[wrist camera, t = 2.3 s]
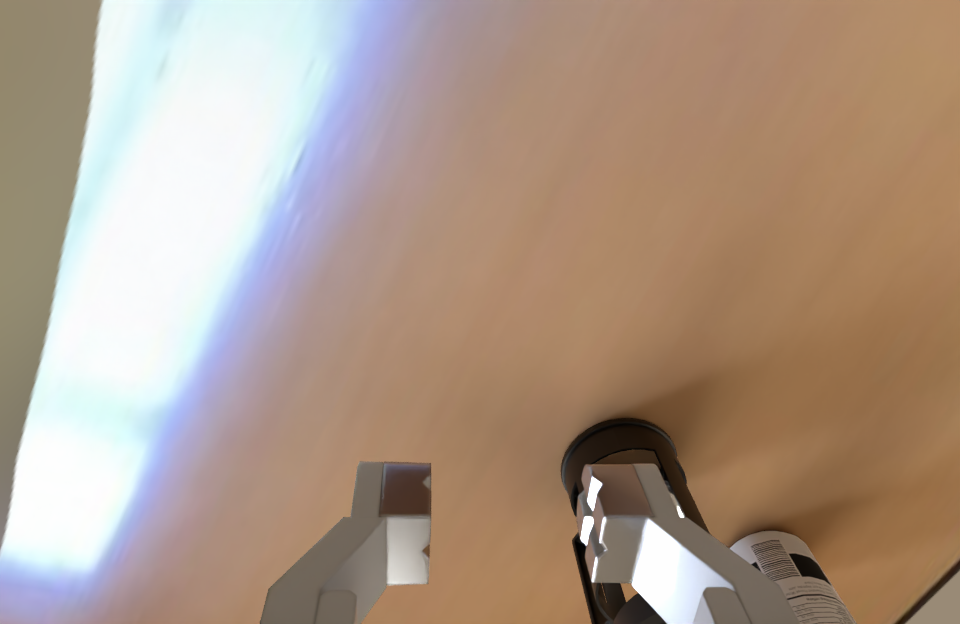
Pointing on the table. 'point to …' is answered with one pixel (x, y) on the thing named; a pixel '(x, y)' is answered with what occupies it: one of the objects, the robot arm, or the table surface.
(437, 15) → the table surface
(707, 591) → the robot arm
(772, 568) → the supplement can
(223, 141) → the table surface
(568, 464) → the french press
